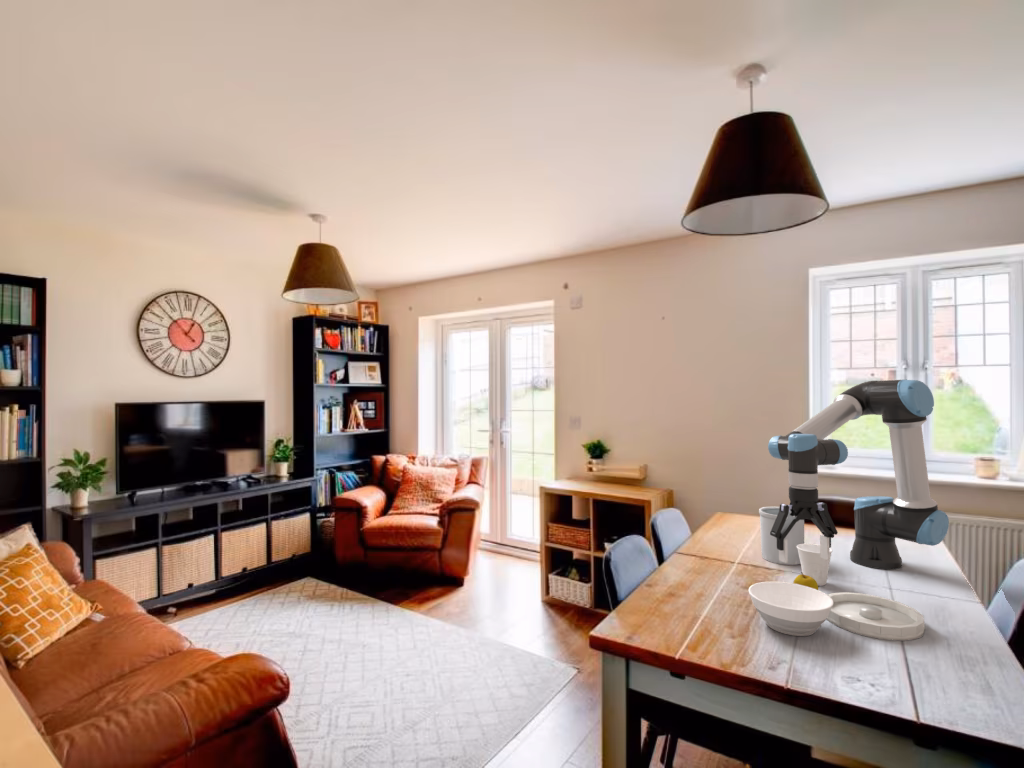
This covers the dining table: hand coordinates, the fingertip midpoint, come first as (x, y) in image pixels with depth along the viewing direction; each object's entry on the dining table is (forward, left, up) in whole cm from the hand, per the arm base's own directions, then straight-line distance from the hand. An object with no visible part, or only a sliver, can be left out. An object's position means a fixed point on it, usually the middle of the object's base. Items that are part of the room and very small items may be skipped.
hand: (804, 560), depth 151 cm
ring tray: (-7, +15, -12) cm, 20 cm away
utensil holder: (-19, -35, -12) cm, 42 cm away
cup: (-13, -12, -12) cm, 22 cm away
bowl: (+16, +14, -12) cm, 24 cm away
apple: (0, 0, -12) cm, 12 cm away
